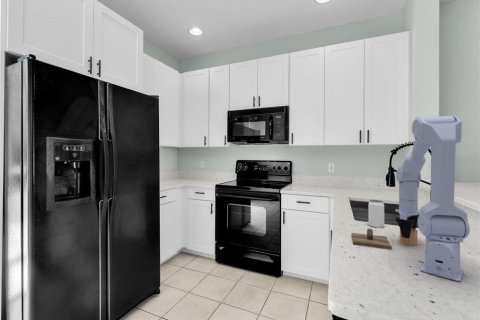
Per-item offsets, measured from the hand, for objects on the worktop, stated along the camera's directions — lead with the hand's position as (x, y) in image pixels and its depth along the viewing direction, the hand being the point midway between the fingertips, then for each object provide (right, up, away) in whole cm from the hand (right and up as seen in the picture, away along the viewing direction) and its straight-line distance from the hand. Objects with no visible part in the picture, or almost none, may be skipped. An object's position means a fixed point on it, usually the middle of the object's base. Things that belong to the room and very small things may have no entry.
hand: (408, 235), depth 86 cm
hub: (0, -3, 0) cm, 3 cm away
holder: (-14, -3, +1) cm, 14 cm away
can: (+1, -3, +23) cm, 23 cm away
